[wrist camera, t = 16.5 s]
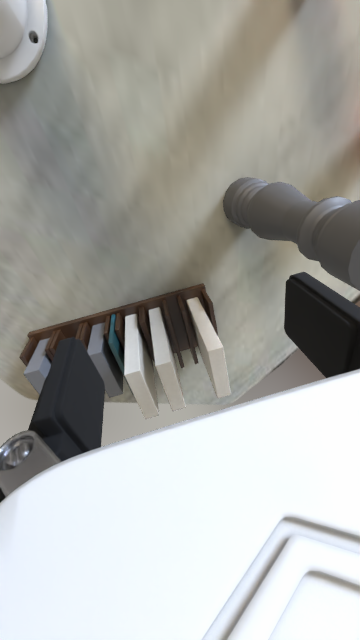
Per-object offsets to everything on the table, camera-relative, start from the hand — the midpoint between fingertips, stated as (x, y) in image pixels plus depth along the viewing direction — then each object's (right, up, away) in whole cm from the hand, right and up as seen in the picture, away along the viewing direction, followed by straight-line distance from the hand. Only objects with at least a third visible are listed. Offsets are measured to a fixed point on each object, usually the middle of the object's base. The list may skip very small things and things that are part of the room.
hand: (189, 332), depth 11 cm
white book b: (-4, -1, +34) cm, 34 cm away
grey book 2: (-13, -4, +34) cm, 36 cm away
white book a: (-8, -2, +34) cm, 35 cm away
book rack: (-9, -2, +35) cm, 36 cm away
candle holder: (+9, +18, +26) cm, 33 cm away
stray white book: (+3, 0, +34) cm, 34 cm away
